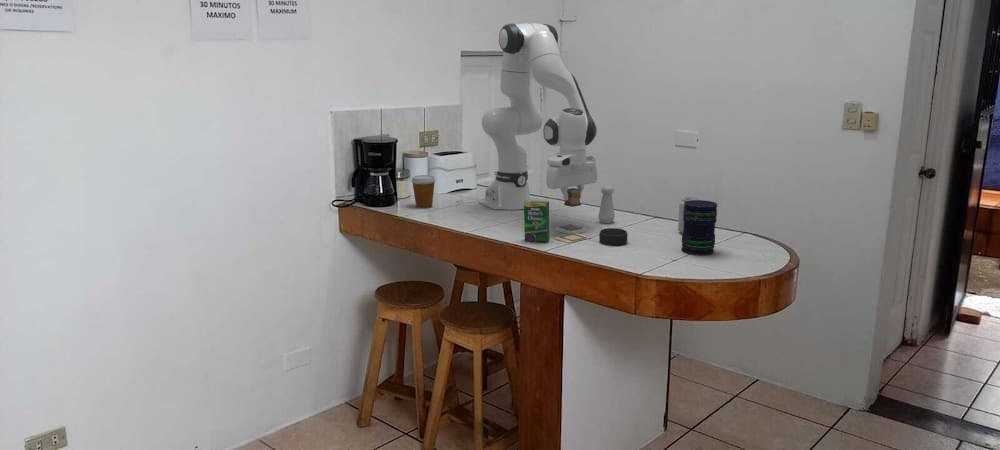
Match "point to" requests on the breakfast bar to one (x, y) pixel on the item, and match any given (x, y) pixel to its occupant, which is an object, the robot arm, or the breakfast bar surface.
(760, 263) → the breakfast bar surface
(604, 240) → the smart speaker
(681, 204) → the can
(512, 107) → the robot arm
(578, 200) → the stamp
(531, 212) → the coffee box
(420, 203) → the disposable coffee cup
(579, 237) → the card
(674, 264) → the breakfast bar surface
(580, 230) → the ink pad
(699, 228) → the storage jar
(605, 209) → the salt shaker
